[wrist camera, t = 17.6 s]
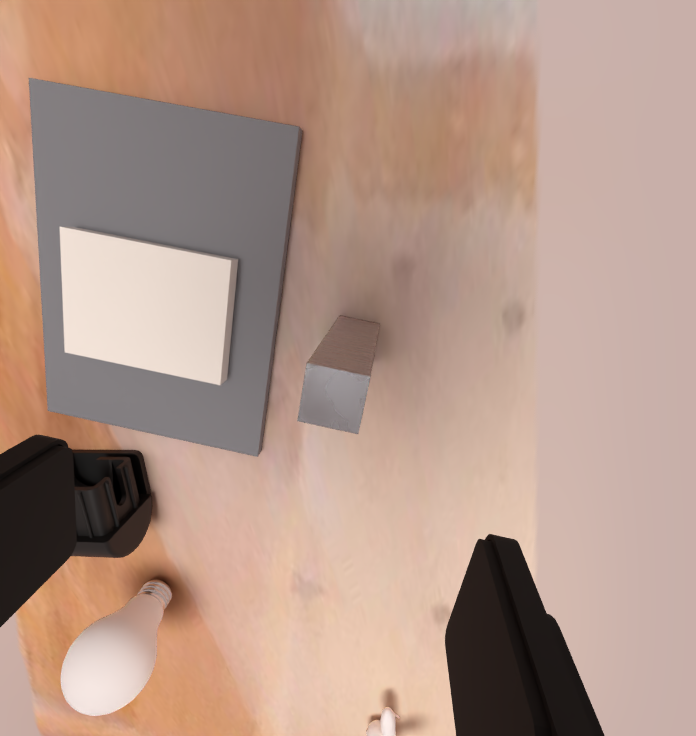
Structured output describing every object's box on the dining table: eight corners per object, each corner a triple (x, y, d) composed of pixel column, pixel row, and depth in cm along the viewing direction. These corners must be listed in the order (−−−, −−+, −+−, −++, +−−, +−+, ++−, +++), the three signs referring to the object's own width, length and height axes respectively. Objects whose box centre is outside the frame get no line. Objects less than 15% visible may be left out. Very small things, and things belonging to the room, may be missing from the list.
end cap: (63, 516, 39) (-2, 570, 33) (42, 448, 37) (-31, 493, 31) (162, 518, 38) (115, 576, 32) (147, 449, 36) (94, 496, 30)
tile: (59, 226, 28) (64, 352, 31) (231, 260, 28) (220, 385, 30) (76, 226, 30) (80, 346, 32) (239, 259, 29) (228, 378, 32)
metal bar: (339, 315, 31) (306, 363, 19) (379, 323, 30) (370, 376, 19) (332, 353, 32) (297, 420, 20) (371, 362, 31) (358, 434, 20)
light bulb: (185, 620, 42) (115, 749, 31) (123, 595, 41) (32, 716, 31) (203, 573, 39) (134, 695, 29) (137, 546, 39) (45, 659, 29)
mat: (41, 83, 28) (28, 77, 27) (302, 130, 27) (299, 126, 26) (57, 406, 36) (47, 410, 35) (261, 450, 35) (257, 456, 34)
